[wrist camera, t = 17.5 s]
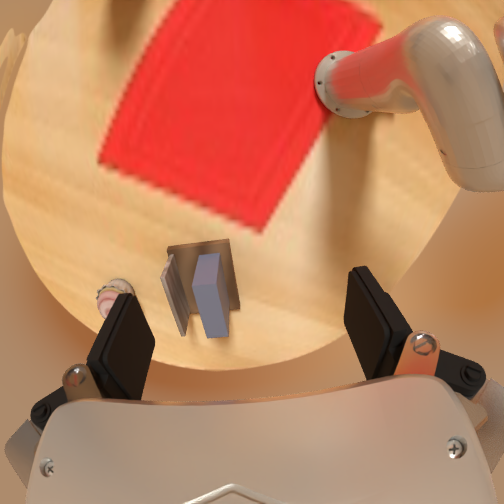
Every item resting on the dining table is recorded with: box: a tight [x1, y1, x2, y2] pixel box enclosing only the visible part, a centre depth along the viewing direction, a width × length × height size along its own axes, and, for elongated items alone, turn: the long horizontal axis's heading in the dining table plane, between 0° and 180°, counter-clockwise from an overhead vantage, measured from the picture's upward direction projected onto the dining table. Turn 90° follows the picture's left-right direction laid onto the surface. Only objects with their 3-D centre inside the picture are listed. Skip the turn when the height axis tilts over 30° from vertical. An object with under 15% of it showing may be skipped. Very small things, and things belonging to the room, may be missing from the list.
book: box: [192, 253, 230, 338], centre depth 51 cm, size 4×12×10 cm, turn 6°
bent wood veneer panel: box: [160, 239, 240, 336], centre depth 52 cm, size 12×16×10 cm
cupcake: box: [96, 279, 134, 319], centre depth 53 cm, size 9×9×10 cm
